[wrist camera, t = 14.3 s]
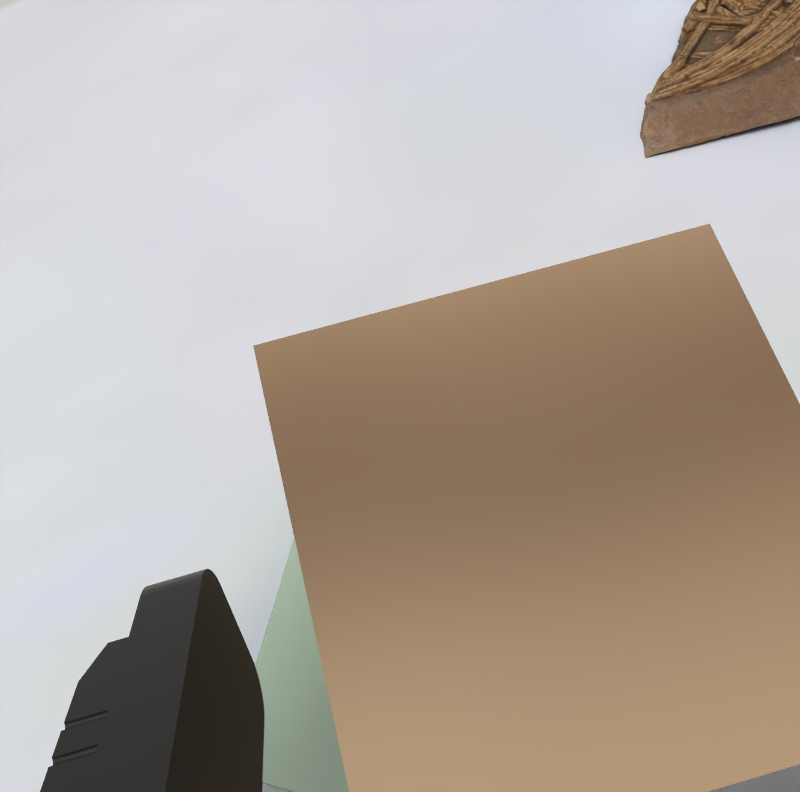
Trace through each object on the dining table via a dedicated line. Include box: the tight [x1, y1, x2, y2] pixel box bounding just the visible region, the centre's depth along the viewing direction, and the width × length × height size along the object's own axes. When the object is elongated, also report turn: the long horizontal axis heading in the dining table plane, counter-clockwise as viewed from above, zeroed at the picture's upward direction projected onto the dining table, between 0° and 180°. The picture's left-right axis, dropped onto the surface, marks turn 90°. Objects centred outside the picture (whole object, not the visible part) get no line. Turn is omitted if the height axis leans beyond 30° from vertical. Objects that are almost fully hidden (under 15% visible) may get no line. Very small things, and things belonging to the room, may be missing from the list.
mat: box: [255, 537, 349, 792], centre depth 16 cm, size 9×9×1 cm
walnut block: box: [254, 224, 800, 792], centre depth 11 cm, size 5×5×9 cm
